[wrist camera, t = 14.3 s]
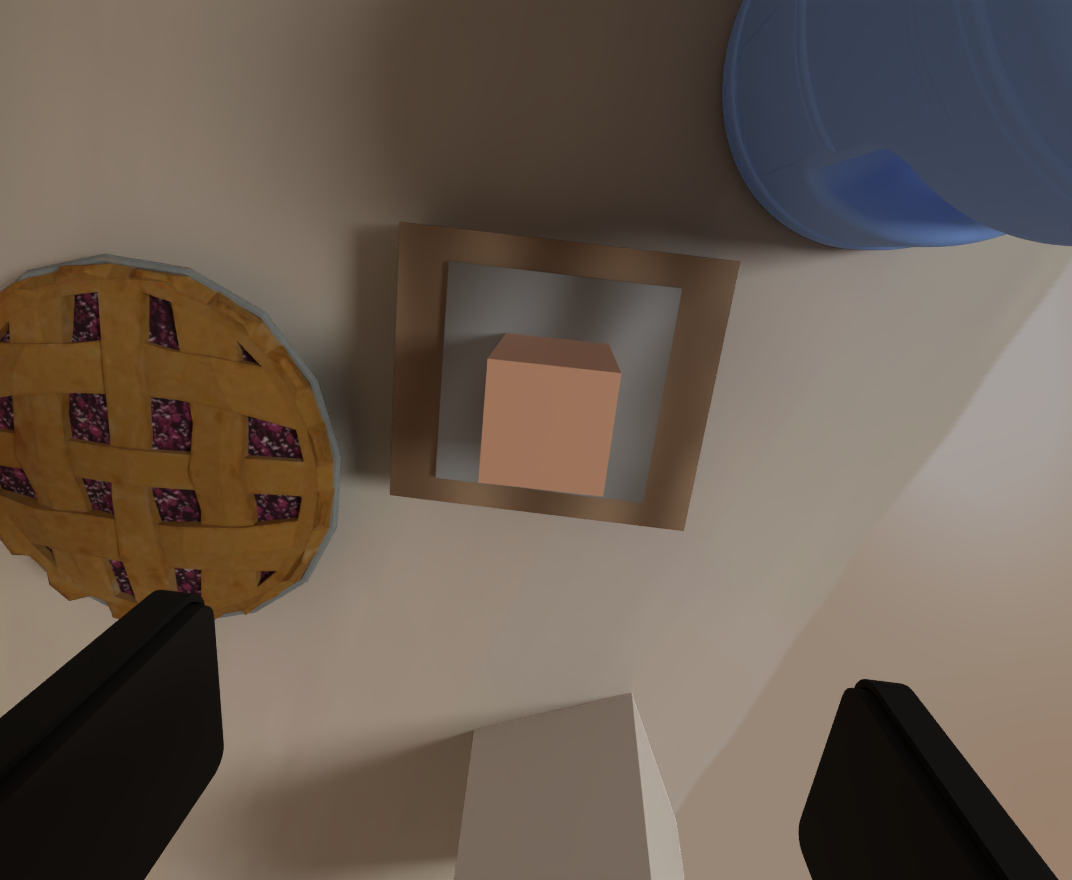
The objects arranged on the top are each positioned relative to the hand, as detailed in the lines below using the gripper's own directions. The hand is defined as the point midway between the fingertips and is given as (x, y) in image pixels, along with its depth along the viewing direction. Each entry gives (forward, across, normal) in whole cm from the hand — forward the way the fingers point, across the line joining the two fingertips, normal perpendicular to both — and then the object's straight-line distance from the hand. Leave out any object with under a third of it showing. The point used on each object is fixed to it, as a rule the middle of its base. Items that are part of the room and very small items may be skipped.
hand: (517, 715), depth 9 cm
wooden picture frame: (+26, 0, 0) cm, 26 cm away
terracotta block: (+22, 0, 0) cm, 22 cm away
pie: (+26, +22, +7) cm, 35 cm away
